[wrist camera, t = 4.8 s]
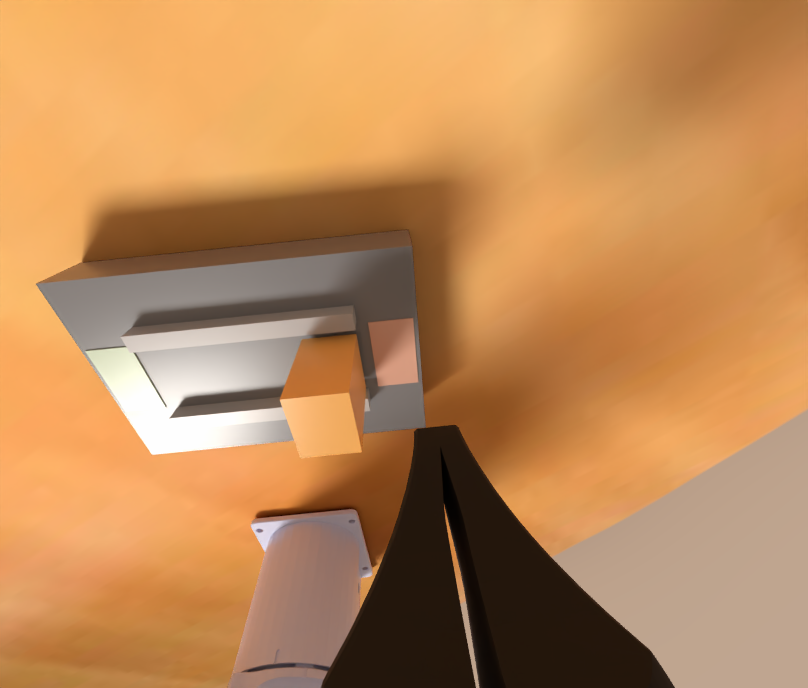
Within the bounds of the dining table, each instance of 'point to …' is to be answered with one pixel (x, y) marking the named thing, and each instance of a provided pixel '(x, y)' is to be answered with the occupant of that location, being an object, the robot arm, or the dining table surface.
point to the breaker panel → (243, 333)
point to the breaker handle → (326, 397)
